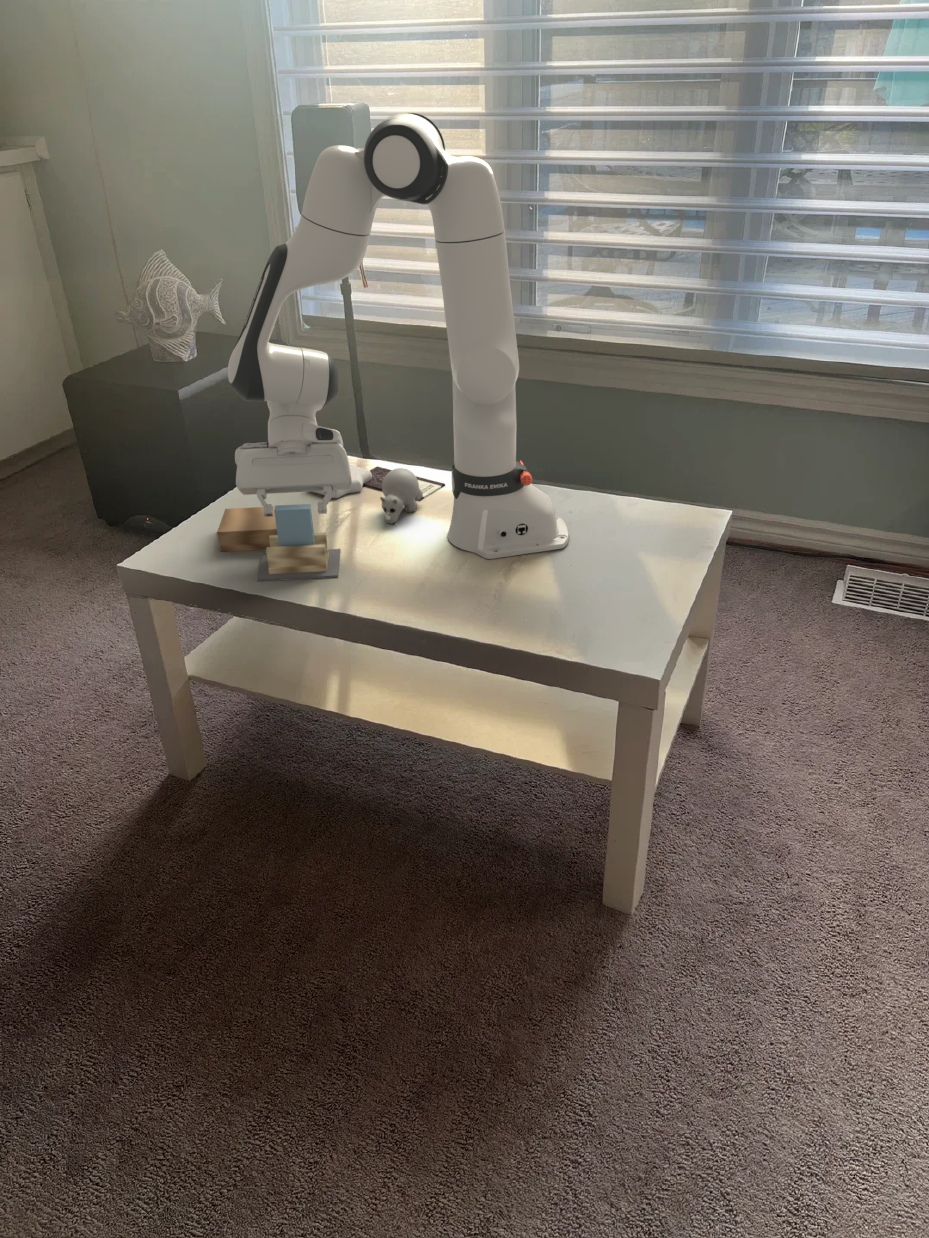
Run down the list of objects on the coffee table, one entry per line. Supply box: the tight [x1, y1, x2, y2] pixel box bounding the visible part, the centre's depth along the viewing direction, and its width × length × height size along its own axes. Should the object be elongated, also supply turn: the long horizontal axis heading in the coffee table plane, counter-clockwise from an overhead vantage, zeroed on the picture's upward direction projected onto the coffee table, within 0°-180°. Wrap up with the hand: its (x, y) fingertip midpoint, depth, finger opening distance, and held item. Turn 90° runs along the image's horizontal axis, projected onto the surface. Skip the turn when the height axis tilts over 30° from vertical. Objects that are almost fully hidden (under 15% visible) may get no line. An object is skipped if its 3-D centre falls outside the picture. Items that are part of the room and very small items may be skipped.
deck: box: [216, 505, 278, 552], centre depth 172 cm, size 12×10×4 cm
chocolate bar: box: [362, 466, 446, 502], centre depth 193 cm, size 9×1×18 cm
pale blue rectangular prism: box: [274, 503, 315, 547], centre depth 160 cm, size 6×2×10 cm, turn 94°
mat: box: [255, 548, 341, 582], centre depth 163 cm, size 14×10×1 cm
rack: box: [265, 532, 329, 574], centre depth 162 cm, size 10×7×5 cm, turn 94°
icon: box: [311, 464, 372, 499], centre depth 192 cm, size 12×4×10 cm
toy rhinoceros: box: [379, 467, 423, 525], centre depth 179 cm, size 7×12×8 cm, turn 159°
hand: (295, 514), depth 161 cm, fingers open, 8 cm apart
